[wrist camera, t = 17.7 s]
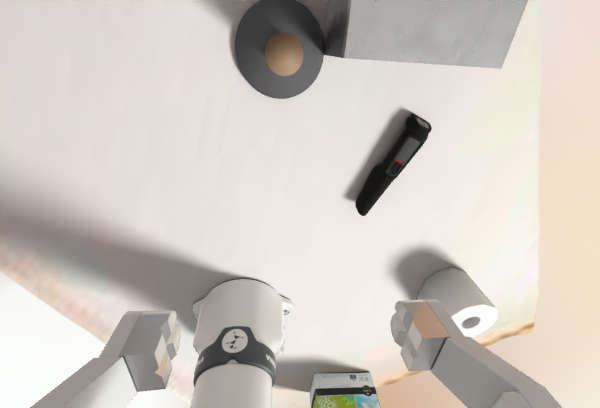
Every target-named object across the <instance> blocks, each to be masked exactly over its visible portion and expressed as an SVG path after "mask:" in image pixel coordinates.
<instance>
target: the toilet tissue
mask: <svg viewBox="0 0 600 408" xmlns="http://www.w3.org/2000/svg"><path fill="white" fill-rule="evenodd" d="M432 299H437V300H438V301H440V303H441V304H442V305H443V307H444V308H445V310H446V311H447V312H448V314H449V315H450V317H451V318H452V319H453V321H454V322H455V324H456V325H457V326H458V328H459V329H460V331H461V332H462V333H463V335H464V336H465V337H474V336H477V335H479V334H481V333H482V332H484V331H486V330H488V329H489V328H491V326H492V325H493V324H494V322H495V321H496V320H497V318H498V314H497V310H496V307H495V306H494V305H493V304H492V303H491V302H490V300H489V299H488V298H487V297H486V296H485V295H484V293H483V292H482V291H481V290H480V289H479V287H478V286H477V285H476V284H475V283H474V282H473V280H472V279H471V278H470V277H469V276H468V275H467V273H466V272H465V271H463V270H460V269H457V268H454V267H453V268H448V269H443V270H439V271H437V272H436V273H434V274H433V275H431V276H430V277H428V278H427V279H426V280H425V282H424V284H423V286H422V288H421V290H420V292H419V294H418V296H417V299H416V300H432Z"/></svg>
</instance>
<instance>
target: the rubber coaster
mask: <svg viewBox="0 0 600 408" xmlns="http://www.w3.org/2000/svg"><path fill="white" fill-rule="evenodd" d="M280 32H288V33H291V34H293V35H294V36H295V37H296V38H297V39H298V40H299V41H300V43H301V45H302V48H303V61H302V64H301V66H300V68H299V69H298V70H297V71H296V72H295V73H294V74H292V75H289V76H280V75H278V74H276V73H274V72H273V71H272V70H271V69H270V68H269V66H268V65H267V62H266V59H265V48H266V45H267V43H268V41H269V39H270V38H271V37H272V36H273V35H275V34H277V33H280ZM235 51H236V58H237V62H238V65H239V68H240V70H241V72H242V74H243V76H244V77H245V79H246V80H247V81H248V83H249V84H250V85H251V86H252V87H253V88H254V89H256V90H257V91H258V92H260V93H262V94H264V95H266V96H269V97H272V98H279V99H281V98H290V97H293V96H296V95H298V94H300V93H302V92H303V91H305V90H306V89H307V88H308V87H309V86H310V85H311V84H312V83H313V82H314V80H315V79H316V77H317V75H318V74H319V71H320V69H321V66H322V62H323V56H324V42H323V36H322V33H321V29H320V27H319V25H318V22H317V21H316V19H315V17H314V16H313V15H312V13H311V12H310V11H309V10H308V9H307V8H306V7H305V6H304V5H302V4H301V3H300V2H298V1H296V0H260V1H259V2H257V3H255V4H254V5H253V6H252V7H251V8H250V9H249V10H248V11H247V12H246V13H245V15H244V16H243V18H242V20H241V21H240V24H239V26H238V29H237V33H236V40H235Z"/></svg>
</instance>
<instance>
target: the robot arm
mask: <svg viewBox="0 0 600 408" xmlns="http://www.w3.org/2000/svg"><path fill="white" fill-rule="evenodd" d="M292 308H293V303H292V301H290V300H289V299H287V298H284V297H282V296H280V295H279V294H278V293H277V292H276V291H275V290H274V289H273V288H272V287H270V286H268V285H267V284H265V283H262V282H259V281H255V280H249V279H238V280H231V281H227V282H224V283H222V284H220V285H218V286H216V287H215V288H213V289H212V290H211V291H210V292H209V294H208V295H207V296H206V297H205V298H204V299H202V300H200V301H198V302H196V303H195V304H194V305H193V309H192V311H193V313H194V315H195V317H196V319H197V321H198V322H197V327H196V331H195V336H194V341H193V347H194V348H195V350H196V352H197V353H198V354H199V358H198V362H197V365H196V368H195V372H194V374H195V375H194V387H195V390H194V394H193V398H192V402H191V407H190V408H272V387H273V385H274V382H275V374H276V365H275V357H276V355H282V354H283V351H284V330H285V328H286V325H287V322H288V319H289V317H290V314H291V311H292ZM395 309H396V311H397V312H396V313H395V314H394V315H393V316H392V319H391V331H392V335H393V338H394V340H395V342H396V343H397V344H398V345H400V346H401V347H402V349H401V356H402V358H403V360H404V362H405V364H406V367H407V369H408V371H425V370H426V371H427V370H432V371H431V372H432V373H433V374H434V375H435V376H436V377H437V378H438V379H439V380H440V381H441V382H442V383H443V384H444V385H445V386H446V387H447V388H448V389H449V390H450V391H451V392H452V393H453V394H454V395H455V396H456V397H457V398H458V399H459V400H461V401H462V402H463V404H464V405H465V406H467V407H468V408H561V406H560V405H559V404H558V402H557V401H556V400H555V399H554V398H553V396H552V395H551V394H550V393H549V392H548V391H547V389H546V388H545V387H543V386H541V385H540V384H539V383H537V382H536V381H534V380H533V379H531V378H530V377H528V376H527V375H525V374H524V373H522V372H521V371H519V370H518V369H516V368H515V367H513V366H512V365H510V364H509V363H507V362H506V361H504V360H503V359H501V358H500V357H498V356H497V355H495V354H494V353H492V352H491V351H490V350H488V349H486V348H485V347H484V346H482V345H481V344H479V343H478V342H476V341H475V340H473V339H472V338H470V337H465V336H464V335H463V333H462V332H461V331H460V329H459V328H458V326H457V325H456V324H455V322H454V321H453V319H452V318H451V317H450V315H449V314H448V312H447V311H446V310H445V308H444V307H443V305H442V304H441V303H440V301H438V300H437V299H432V300H407V301H398V302H397V303H396V306H395ZM176 319H177V315H176V312H175V311H130V312H127V313H126V314H125V315H124V316H123V317H122V319H121V320H120V322H119V324H118V326H117V327H116V329H115V331H114V332H113V334H112V336H111V338H110V339H109V341H108V343H107V344H106V346H105V348H104V350H103V351H102V353H101V355H100V356H99V358H94V359H92V360H91V361H90V362H88V363H87V364H86V365H85V366H83V367H82V368H81V369H79V370H78V371H77V372H75V373H74V374H73V375H71V376H70V377H69V378H68V379H66V380H65V381H64V382H62V383H61V384H60V385H59V386H57V387H56V388H55V389H54V390H52V391H51V392H50V393H48V394H47V395H46V396H44V397H43V398H42V399H41V400H39V401H38V402H37V403H35V404H34V405H33V406H32V407H30V408H125V407H126V406H127V405H128V404H129V403H130V401H131V400H132V399H133V398H134V397H135V396H136V395H137V392H139V391H148V390H159V389H166V386H167V383H168V380H169V376H170V373H171V370H172V365H171V360H172V359H173V358H174V357H175V356H176V355H177V351H178V348H179V343H180V328H179V326H178V325H177V324H176V323H175V322H176Z"/></svg>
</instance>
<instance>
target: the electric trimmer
mask: <svg viewBox="0 0 600 408" xmlns="http://www.w3.org/2000/svg"><path fill="white" fill-rule="evenodd" d="M430 131H431V125H430V124H429V123H428V122H427V121H425V120H423V119H422V118H420V117H418V116H417V115H415V114H412V115H411V117H408V118H407V120H406V128H405V131H404V132H403V133H402V135H401V136H400V138H399V139H398V141H397V142H396V144H395V145H394V147H393V148H392V150H391V151H390V153H389V154H388V155H387V157H386V158H385V160H384V161H383V163H382V164H380V165H378V166H376V167H375V168H374V169H373V171H372V172H371V174H370V176H369V178H368V180H367V182H366V183H365V185H364V187H363V189H362V191H361V193H360V195H359V197H358V199H357V201H356V208H357V210H358V212H359V214H360V215H362V216H365V215H366V214H367V213H368V211H369V210H370V209H371V208H372V206H373V205H374V204H375V203H376V201H377V200H378V199H379V198H380V196H381V195H382V194H383V193H384V191H385V190H386V189H387V188H388V186H389V185H390V184H391V182H392V181H393V180H394V179H395V178H396V177H397V176H398V175H399V174H400V173H401V171H402V170H403V169H404V168H405V166H406V165H407V164H408V163H409V161H410V160H411V159H412V158H413V156H414V155H415V154H416V153H417V152H418V150H419V149H420V148H421V147H422V145H423V144H424V142H425V141H426V139H427V137H428V133H429V132H430Z"/></svg>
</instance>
